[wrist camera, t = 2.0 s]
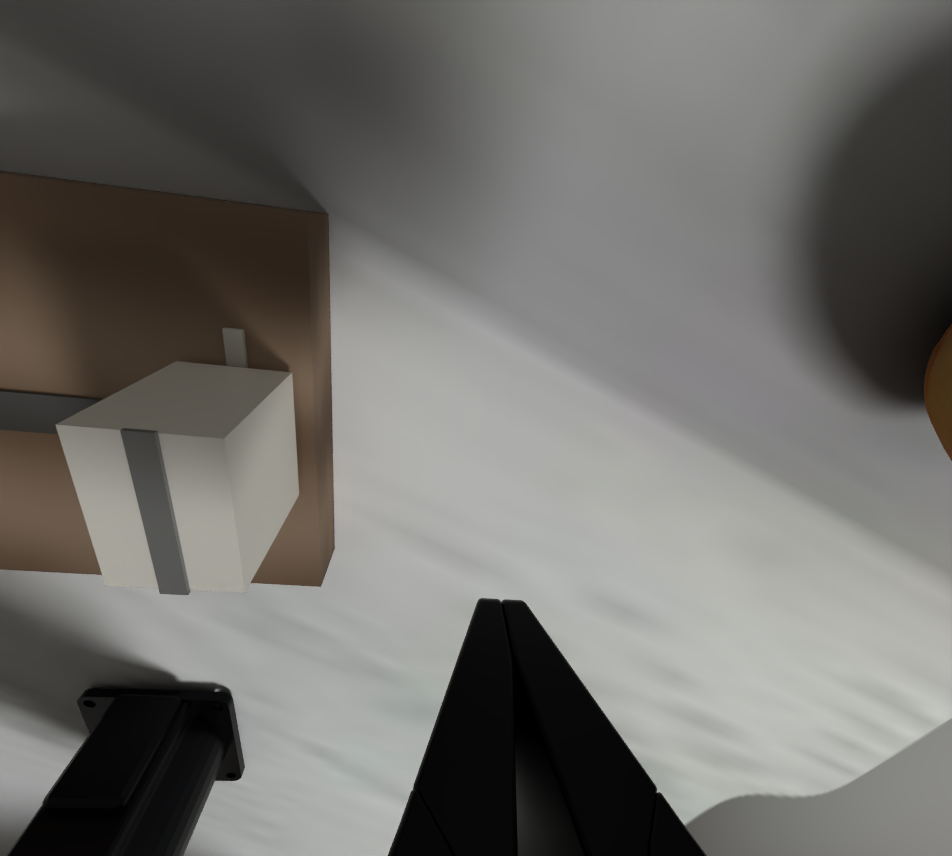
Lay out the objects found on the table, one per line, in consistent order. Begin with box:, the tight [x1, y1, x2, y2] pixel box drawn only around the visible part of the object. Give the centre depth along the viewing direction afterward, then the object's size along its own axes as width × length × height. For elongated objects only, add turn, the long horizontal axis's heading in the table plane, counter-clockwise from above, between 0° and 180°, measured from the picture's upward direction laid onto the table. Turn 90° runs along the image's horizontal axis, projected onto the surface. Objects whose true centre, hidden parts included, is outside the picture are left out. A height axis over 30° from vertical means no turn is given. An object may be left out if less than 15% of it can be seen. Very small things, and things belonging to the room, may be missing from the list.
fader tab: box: [56, 361, 299, 595], centre depth 11 cm, size 4×3×4 cm
